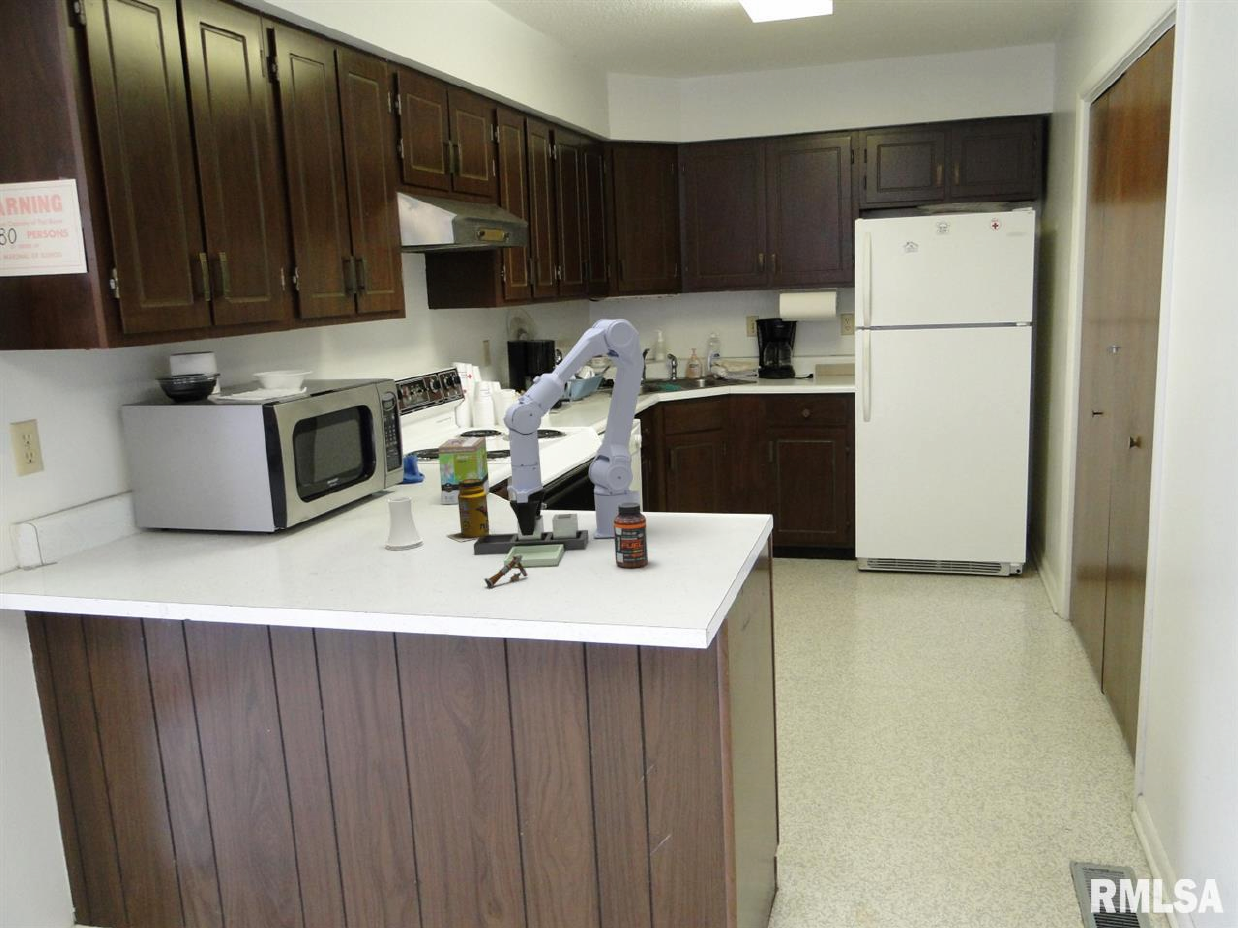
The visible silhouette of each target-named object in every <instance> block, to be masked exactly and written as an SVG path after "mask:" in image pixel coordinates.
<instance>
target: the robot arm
mask: <svg viewBox="0 0 1238 928" xmlns="http://www.w3.org/2000/svg"><path fill="white" fill-rule="evenodd" d="M639 339H640V333H639V331H638V330H637V329H636V328H635V326H634V325H633V324H632V323H631V322H630V321H629V320H627V319H623V318H617V319H608V318H602V319H599V320H597V321H596V322H594V324H593V325H592V326H591V328H588V329H587V330H586V331H585V332H584V334H582V336H581V338H580V339H579V340H578V341H577V342H576V344H574V346H573V347H572V349H571V350H570V351H569V352H568V353H567V354H566V356H565V357H564V358H563V359H562V360H561V362H560V363H559V364H558V365H557V367H556V368H555V369H553V371H552V372H550V373H543V374H542V375H540V376H538V375H537V376H535V377H534V378H533V380H532V382H533V384H532V385H531V386H530V387H529V388H528V390H527V391H526V392H525V393H524V394H523V395H519V396H518V397H517V401H518V402H516V403H512V404H511V405H510V406H509V407H508V408H507V409H506V410H505V414H504V417H503V420H502V421H503V423H504V425H505V427H506V428H507V429H508V437H509V442H508V443H509V453H510V454H509V455H510V465H511V466H510V467H511V480H512V485H508V486H506V490H507V491H511V492H513V493H515V495H516V499H511V500H510V501H509V505H510V508H511V509H512V511H513V513H514V515H515V517H516V519H517V521H518V523H519V527H520V530H521V533H522V535H523V536H528V535H533V533H534V524H535V516H536V515H541V512H542V511H541V510H542V505H543V500H544V498H545V495H546V493H547V491H546V489H545V488H544V487H543V482H542V472H541V461H540V460H541V459H540V446H539V445H540V444H539V437H538V430H539V428H541V425H542V417H545V416H546V415H547V413H548V412H549V411H550V410H551V409H552V408H553V406H555V405H556V403H557V402H558V401H559V400H560V399H561V398H562V397H563V396H564V394H565V384H566V383H567V382H568V381H570V379H571V378H572V377H573V376H574V375H575V374H577V372H579V371H580V370H581V368H582V367H583V366H585V365H586V363H587V362H589V360H590V359H592V358H593V357H596V356H600V355H607V356H608V357H609V359H610V360H611V361H612V363H613V365H615V367H616V372H615V378H614V384H613V387H612V393H611V398H610V399H611V400H610V402H609V403H610V405H609V409H608V415H607V420H606V425H605V428H604V429H605V430H604V436H603V440H602V443H601V444H600V445H599V447H598V448H597V450H596V454H595V457H594V459H593V461H592V462H591V463H590V465H589V469H588V477H589V479H590V481H591V483H593V484H594V489H593V493H594V495H593V496H594V506H595V507H594V509H595V511H594V512H595V522H596V523H595V524H596V528H595V531H594V533H593V538H594V539H602V538H605V539H607V538H608V539H609V538H615V535H614V519H615V517H616V516H618V514H619V512H618V505H619V504H621V503H627V502H635V503H639V504H640V505H641V501H640V492H639V490H630V487H631V485H632V484H633V479H634V475H633V470H632V461H633V458H632V454H631V452H630V449H629V447H630V446H629V445H630V440H631V436H632V429H633V425H634V420H635V416H636V410H637V409H636V408H637V404H638V399H639V393H640V388H641V384H642V380H643V379H642V378H643V373H644V368H645V359H644V355H643V351H642V349H641V344H640V340H639ZM543 488H544V489H543Z"/></svg>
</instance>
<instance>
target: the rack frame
mask: <svg viewBox="0 0 1238 928" xmlns="http://www.w3.org/2000/svg"><path fill="white" fill-rule="evenodd" d="M578 531H579V539H563V540H554V537H553V531H544V536H545V540H541V541H520V542H519V538H518V532H515V533H514V532H513V533H495V534H490V535H481V536H480V538H478V539H476V541H475V543H474V544H473V552H474V553H473V554H474V555H497V554H508V553H509V552H510V550H511V549H512V547H519V546H541V545H563V546H564V550H566V551H583V550H586V547H587V544H588V543H589V540H588V539H589V530H588V529H582V530H581V529H578Z"/></svg>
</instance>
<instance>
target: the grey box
mask: <svg viewBox="0 0 1238 928" xmlns="http://www.w3.org/2000/svg"><path fill="white" fill-rule="evenodd" d="M516 522H517V533H518V538H519V542H520V541H541V540H545V536H544V532H545V526H544V515H541V514H540V515H536V516H535V524H534V533H533V535H528V536H523V535H522V533H521V530H520V527H519V523H518V520H517V521H516Z"/></svg>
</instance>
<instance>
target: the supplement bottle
mask: <svg viewBox="0 0 1238 928" xmlns="http://www.w3.org/2000/svg"><path fill="white" fill-rule="evenodd" d="M618 512H619V514H618V516H616V517H615V519H614V535H615V537H614V552H615V554H614V555H615V563H616V565H617V566H618V567H621V568H624V569H627V568H628V569H635V568H641V567H644V566H645V565H647V563H648V562H649V555H648V554H649V553H648V552H649V551H648V533H647V531H648V530H647V518H646V517H645V515H644V514H642V513H641V503H640V504H639V503H635V502H627V503H621V504H619V505H618Z"/></svg>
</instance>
